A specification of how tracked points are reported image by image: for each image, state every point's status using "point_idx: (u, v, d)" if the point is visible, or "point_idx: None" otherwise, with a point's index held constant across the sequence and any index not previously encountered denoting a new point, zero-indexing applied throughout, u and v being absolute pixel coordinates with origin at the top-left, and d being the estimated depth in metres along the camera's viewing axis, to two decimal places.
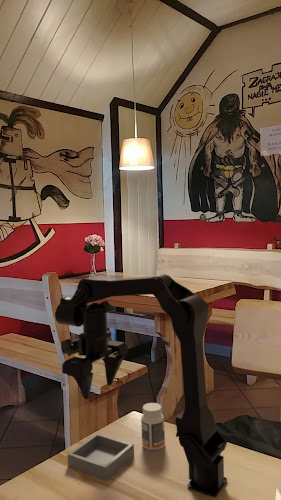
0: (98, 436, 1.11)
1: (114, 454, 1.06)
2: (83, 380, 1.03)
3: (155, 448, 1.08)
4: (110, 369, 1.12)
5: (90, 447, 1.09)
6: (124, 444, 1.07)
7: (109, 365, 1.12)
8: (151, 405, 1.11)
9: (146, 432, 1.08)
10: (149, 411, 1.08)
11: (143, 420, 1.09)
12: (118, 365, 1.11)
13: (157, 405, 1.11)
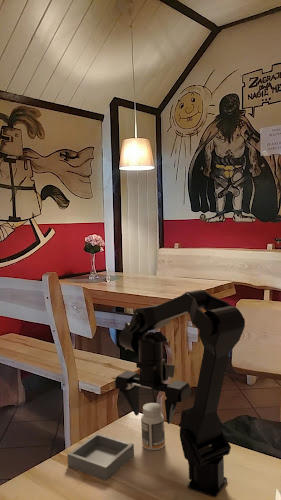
0: (98, 436, 1.11)
1: (114, 454, 1.06)
2: None
3: (155, 448, 1.08)
4: None
5: (90, 447, 1.09)
6: (124, 444, 1.07)
7: None
8: (151, 405, 1.11)
9: (146, 432, 1.08)
10: (149, 411, 1.08)
11: (143, 420, 1.09)
12: (167, 407, 1.05)
13: (157, 405, 1.11)
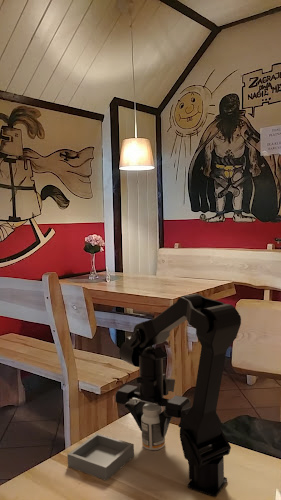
0: (98, 436, 1.11)
1: (114, 454, 1.06)
2: None
3: (155, 448, 1.08)
4: None
5: (90, 447, 1.09)
6: (124, 444, 1.07)
7: None
8: (151, 404, 1.11)
9: (146, 432, 1.08)
10: (149, 411, 1.08)
11: (143, 420, 1.09)
12: (161, 421, 1.06)
13: (157, 405, 1.11)
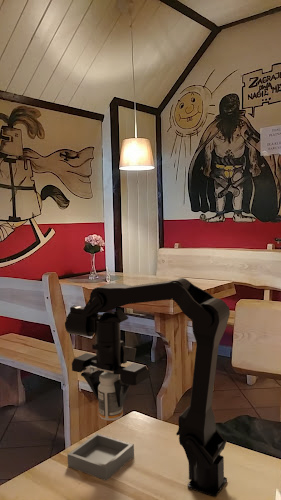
0: (98, 436, 1.11)
1: (114, 454, 1.06)
2: None
3: (111, 418, 1.03)
4: None
5: (90, 447, 1.09)
6: (124, 444, 1.07)
7: None
8: (109, 373, 1.05)
9: (102, 401, 1.03)
10: (105, 379, 1.02)
11: (99, 389, 1.03)
12: (116, 389, 1.00)
13: (115, 374, 1.05)
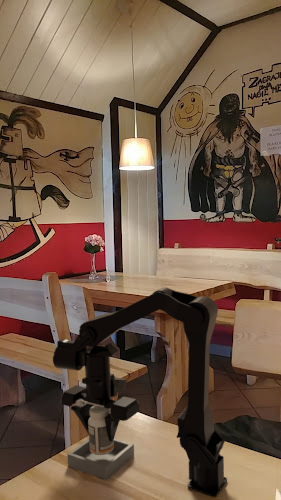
0: None
1: (114, 454, 1.06)
2: None
3: (102, 453, 1.02)
4: None
5: None
6: (124, 444, 1.07)
7: None
8: (99, 406, 1.04)
9: (92, 436, 1.02)
10: (96, 413, 1.01)
11: (89, 423, 1.02)
12: (107, 424, 0.99)
13: None
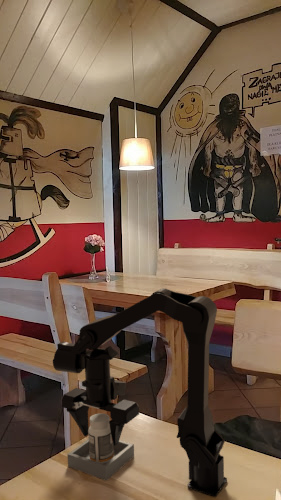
0: None
1: (114, 454, 1.06)
2: None
3: (102, 462, 1.02)
4: None
5: None
6: (124, 444, 1.07)
7: None
8: (99, 415, 1.05)
9: (92, 445, 1.02)
10: (96, 422, 1.02)
11: (89, 432, 1.03)
12: (112, 428, 0.99)
13: (105, 416, 1.04)
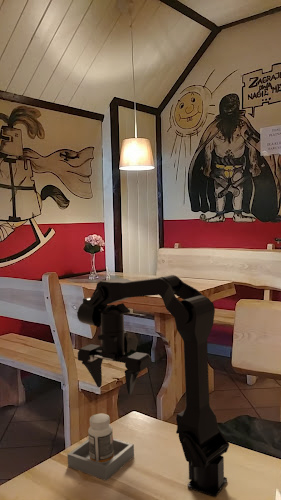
0: None
1: (114, 454, 1.06)
2: None
3: (102, 462, 1.02)
4: None
5: None
6: (124, 444, 1.07)
7: None
8: (99, 416, 1.05)
9: (92, 445, 1.02)
10: (96, 423, 1.02)
11: (89, 432, 1.03)
12: (127, 377, 1.07)
13: (105, 416, 1.04)
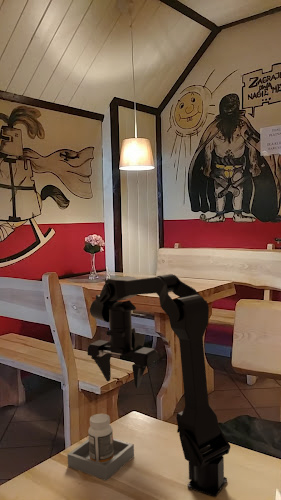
0: None
1: (114, 454, 1.06)
2: None
3: (102, 462, 1.02)
4: None
5: None
6: (124, 444, 1.07)
7: None
8: (100, 416, 1.05)
9: (92, 445, 1.02)
10: (96, 422, 1.02)
11: (90, 432, 1.03)
12: (134, 371, 1.11)
13: (105, 416, 1.04)
